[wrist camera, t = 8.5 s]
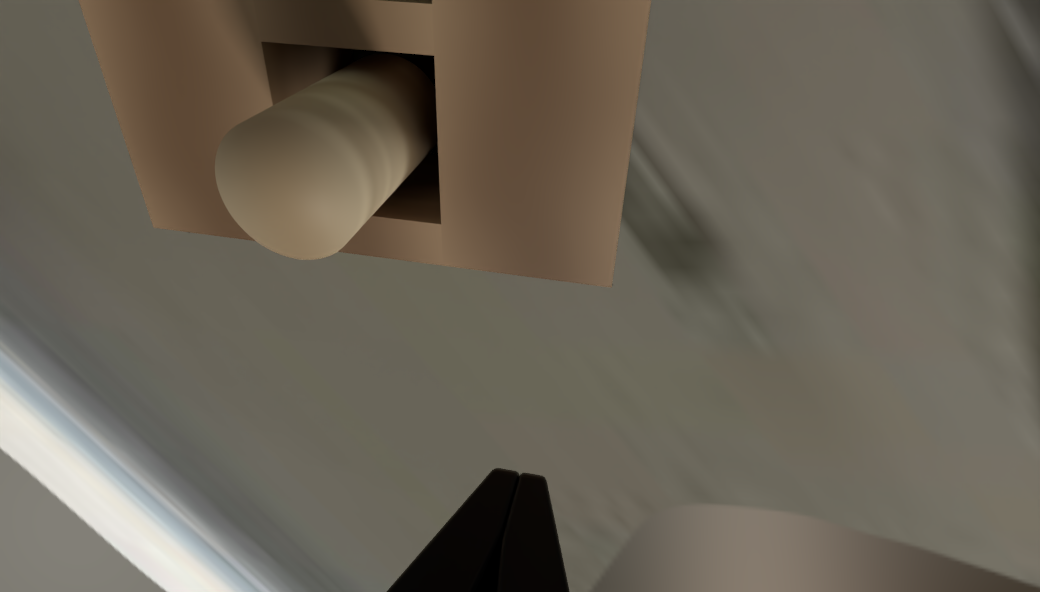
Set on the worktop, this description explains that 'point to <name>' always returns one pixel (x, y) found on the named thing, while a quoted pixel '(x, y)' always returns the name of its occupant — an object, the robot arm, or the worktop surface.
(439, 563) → the robot arm
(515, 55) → the wooden plug holder
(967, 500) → the worktop surface
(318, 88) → the plug beech
